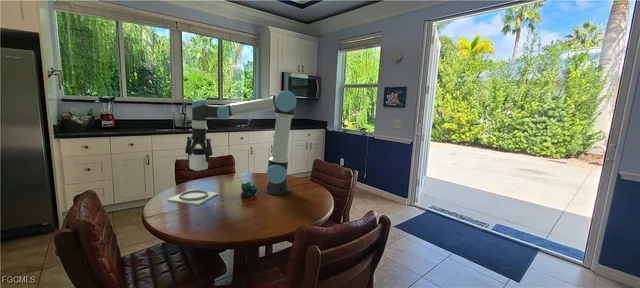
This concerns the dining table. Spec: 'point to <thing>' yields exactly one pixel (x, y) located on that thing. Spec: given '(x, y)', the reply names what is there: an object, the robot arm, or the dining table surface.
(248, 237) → the dining table surface
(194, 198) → the socket board
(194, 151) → the medicine bottle
